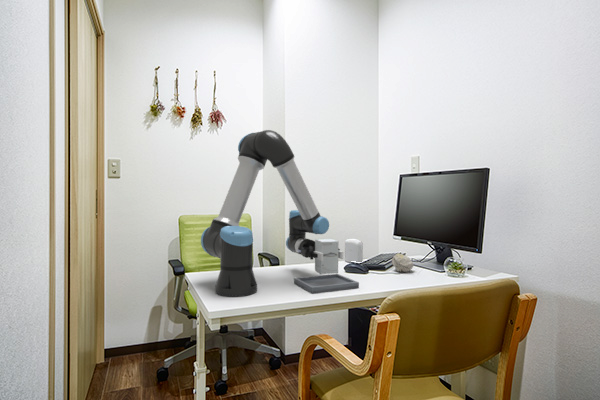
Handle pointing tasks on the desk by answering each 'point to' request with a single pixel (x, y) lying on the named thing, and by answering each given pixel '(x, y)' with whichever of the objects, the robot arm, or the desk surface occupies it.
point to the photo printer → (353, 250)
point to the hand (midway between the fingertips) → (332, 256)
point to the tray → (325, 283)
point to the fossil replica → (402, 263)
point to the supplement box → (327, 256)
